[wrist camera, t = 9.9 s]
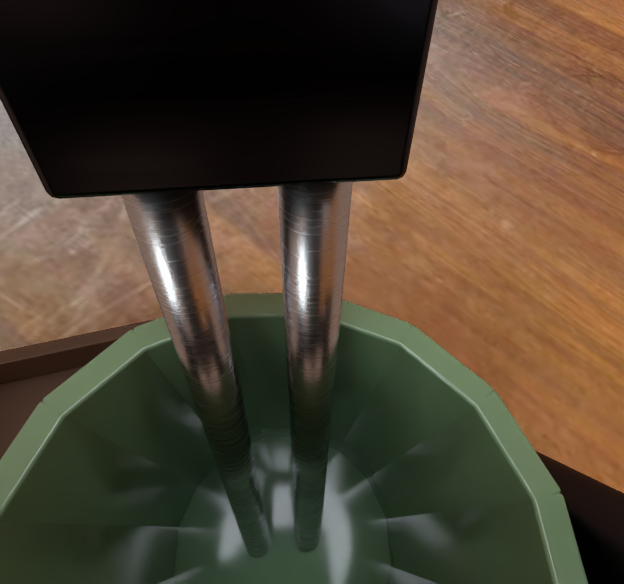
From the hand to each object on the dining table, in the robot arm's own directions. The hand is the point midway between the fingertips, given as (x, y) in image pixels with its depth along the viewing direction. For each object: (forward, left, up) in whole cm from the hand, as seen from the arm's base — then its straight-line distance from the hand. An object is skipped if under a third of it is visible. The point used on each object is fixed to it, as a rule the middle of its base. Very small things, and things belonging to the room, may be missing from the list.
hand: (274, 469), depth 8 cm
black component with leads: (0, 0, -6) cm, 6 cm away
